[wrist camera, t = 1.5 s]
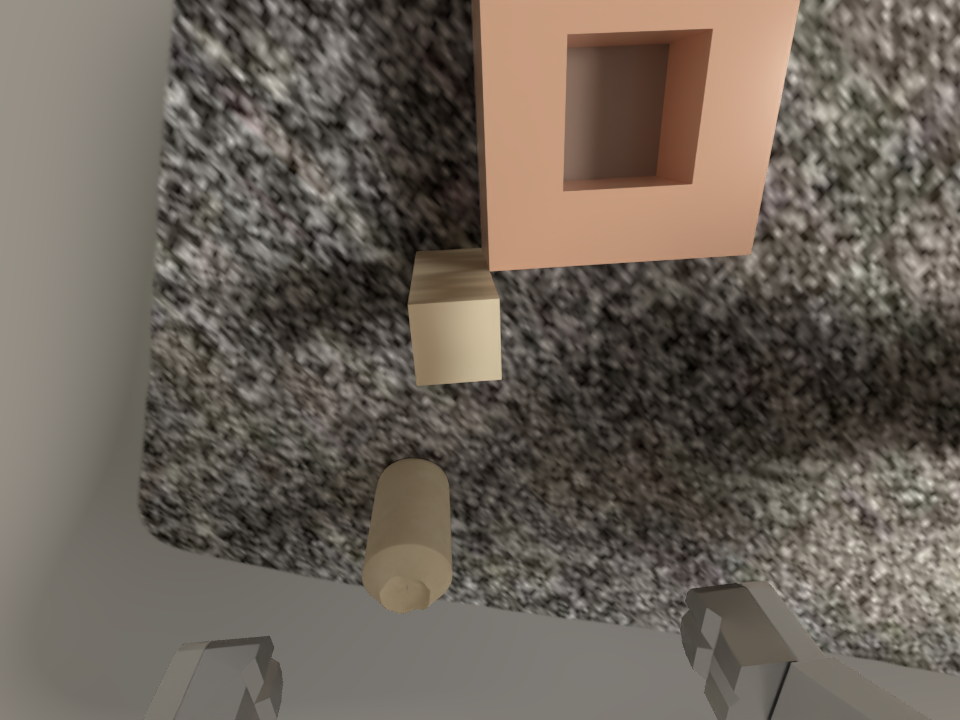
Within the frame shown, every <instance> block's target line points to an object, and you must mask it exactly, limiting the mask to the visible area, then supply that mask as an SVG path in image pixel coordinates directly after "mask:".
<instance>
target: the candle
mask: <svg viewBox="0 0 960 720" xmlns="http://www.w3.org/2000/svg"><path fill="white" fill-rule="evenodd" d="M362 581H363V585H364V587H365V589H366V590H367V591H368V593H369V594H370V595H371V596H372V597H373V598H375V599H376V600H377V601H378V602H379V603H380V604H382V606H383V607H384V608H386V609H388V610H391V611H393V612H396V613H401V614H404V613H407V612H409V611H411V610H414V609H421V610H424V609H426V608H427V607H428V606H429V605H430V604H431V603H433V602H434V601H435V600H437V599H438V598H439V597H441V596H442V595H443V594H444V593H445V592H446V591H447V589H448V588H449V586H450V584H451V581H452V549H451V520H450V493H449V483H448V480H447V477H446V475H445V473H444V472H443V470H442V469H441V468H440V467H439V466H437V465H436V464H434V463H433V462H430V461H428V460H425V459H420V458H407V459H402V460H399V461H396V462H394V463H392V464H391V465H389V466H388V467H387V468H386V469H385V470H384V471H383V472H382V474H381V476H380V478H379V480H378V483H377V488H376V493H375V499H374V505H373V511H372V517H371V523H370V529H369V535H368V541H367V547H366V553H365V559H364V565H363V572H362Z"/></svg>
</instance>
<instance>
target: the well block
mask: <svg viewBox="0 0 960 720" xmlns="http://www.w3.org/2000/svg"><path fill="white" fill-rule="evenodd" d="M470 1H471V25H472V48H473V71H474V95H475V118H476V141H477V165H478V188H479V211H480V235H481V249H482V252H483V254H484V257H485V260H486V263H487V266H488V268H489V271H503V270H518V269H534V268H550V267H565V266H581V265H596V264H612V263H627V262H643V261H658V260H674V259H690V258H705V257H721V256H736V255H751V251H752V246H753V241H754V235H755V230H756V225H757V220H758V215H759V210H760V204H761V199H762V194H763V189H764V184H765V179H766V173H767V168H768V163H769V158H770V153H771V148H772V142H773V137H774V132H775V127H776V122H777V117H778V111H779V106H780V101H781V96H782V91H783V86H784V81H785V75H786V70H787V65H788V60H789V55H790V50H791V44H792V39H793V34H794V29H795V24H796V19H797V13H798V8H799V3H800V0H470Z"/></svg>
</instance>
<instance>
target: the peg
mask: <svg viewBox="0 0 960 720" xmlns="http://www.w3.org/2000/svg"><path fill="white" fill-rule="evenodd" d="M408 312H409V321H410V330H411V339H412V348H413V357H414V366H415V375H416V384H417V386H423V385H436V384H449V383H462V382H476V381H489V380H502V372H501V336H500V299H499V296H498V293H497V290H496V288H495V285H494V282H493V279H492V277H491V274H490V271H489V268H488V266H487V263H486V260H485V257H484V254H483V252H482V249H481V248H466V249H450V250H433V251H417V252H416V256H415V262H414V269H413V275H412V281H411V287H410V294H409V300H408Z"/></svg>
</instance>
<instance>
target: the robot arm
mask: <svg viewBox="0 0 960 720" xmlns="http://www.w3.org/2000/svg"><path fill="white" fill-rule="evenodd" d="M685 603H686V604H687V606H688V608H689V611H688V612H687V613H686V614H685V615H684V616H683V617H682V620H681V627H680V632H681V638H682V644H683V647H684V650H685V653H686V656H687V658H688V660H689V662H690V665H691V666H692V669H693V670H695V671H696V672H697V673H698V674H700V675H701V676H702V677H703V678H705V679H706V685H705V691H704V693H705V695H706V697H707V699H708V701H709V703H710V705H711V707H712V709H713V711H714V713H715V715H716V717H717V719H718V720H931V719H929V718H927V717H926V716H924V715H923V714H921V713H920V712H918V711H917V710H915V709H914V708H912V707H911V706H909V705H907V704H906V703H904V702H903V701H901V700H900V699H898V698H896V697H895V696H893V695H892V694H890V693H889V692H887V691H886V690H884V689H882V688H881V687H879V686H878V685H876V684H875V683H873V682H872V681H870V680H868V679H867V678H865V677H864V676H862V675H861V674H859V673H858V672H856V671H854V670H853V669H851V668H850V667H848V666H847V665H845V664H843V663H842V662H840V661H839V660H837V659H836V658H826V656H825V655H824V654H823V653H822V651H821V650H820V649H819V647H818V646H817V645H816V643H815V642H814V641H813V639H812V638H811V637H810V636H809V634H808V633H807V632H806V630H805V629H804V628H803V626H802V625H801V624H800V622H799V621H798V620H797V618H796V617H795V616H794V615H793V613H792V612H791V611H790V609H789V608H788V607H787V605H786V604H785V603H784V601H783V600H782V599H781V598H780V596H779V595H778V594H777V592H776V591H775V590H774V588H773V587H772V586H771V585H770V584H769V583H767V582H766V581H755V582H747V583H740V584H738V583H732V584H724V585H716V586H708V587H700V588H693V589H690V590H689V591H688V592H687V595H686V599H685ZM273 650H274V646H273V643H272V641H271V638H270V636H264V637H254V638H253V637H252V638H241V639H229V640H217V641H205V642H196V643H186V644H183V645H182V646H181V647H180V648H179V649H178V651H177V652H176V653H175V654H174V656H173V658H172V660H171V663H170V665H169V667H168V668H167V671H166V673H165V675H164V677H163V679H162V681H161V683H160V685H159V687H158V689H157V691H156V693H155V695H154V697H153V699H152V701H151V703H150V705H149V707H148V710H147V712H146V714H145V716H144V718H143V720H277V717H278V713H279V709H280V705H281V699H282V689H283V679H282V670H281V667H280V664H279V663H278V662H277V661H275V660H274V659H272V658H271V657H272V653H273Z"/></svg>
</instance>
